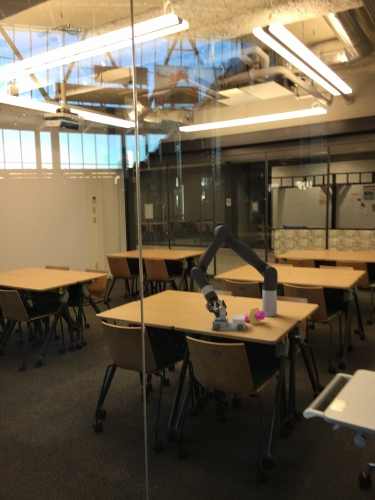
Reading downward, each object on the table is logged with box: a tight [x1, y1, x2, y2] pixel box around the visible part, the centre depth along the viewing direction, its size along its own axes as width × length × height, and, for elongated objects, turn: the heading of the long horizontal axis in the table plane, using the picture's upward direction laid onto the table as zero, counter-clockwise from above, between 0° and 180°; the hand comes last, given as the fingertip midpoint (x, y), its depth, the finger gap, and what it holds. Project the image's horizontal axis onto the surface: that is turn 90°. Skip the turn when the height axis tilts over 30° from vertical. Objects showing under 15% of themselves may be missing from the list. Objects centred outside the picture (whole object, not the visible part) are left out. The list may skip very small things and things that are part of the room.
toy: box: [245, 307, 266, 325], centre depth 257 cm, size 10×18×10 cm, turn 32°
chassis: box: [211, 314, 246, 332], centre depth 248 cm, size 20×14×6 cm
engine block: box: [214, 307, 227, 322], centre depth 249 cm, size 4×4×10 cm
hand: (222, 316), depth 247 cm, fingers open, 6 cm apart
